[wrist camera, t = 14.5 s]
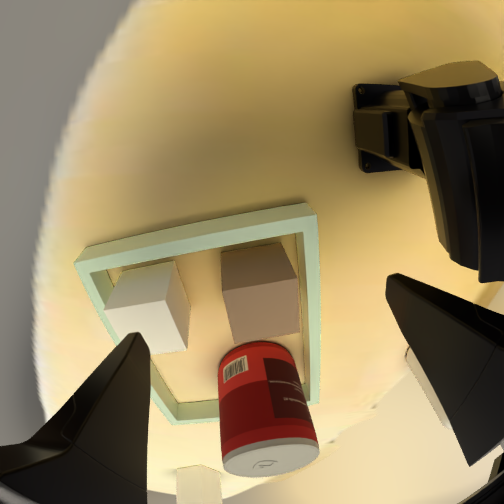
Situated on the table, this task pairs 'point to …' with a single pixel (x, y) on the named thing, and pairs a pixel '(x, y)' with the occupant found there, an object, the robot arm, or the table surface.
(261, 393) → the canned food
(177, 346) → the white block
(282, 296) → the brown carton
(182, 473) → the milk
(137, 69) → the table surface
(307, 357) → the mint green rectangular frame
